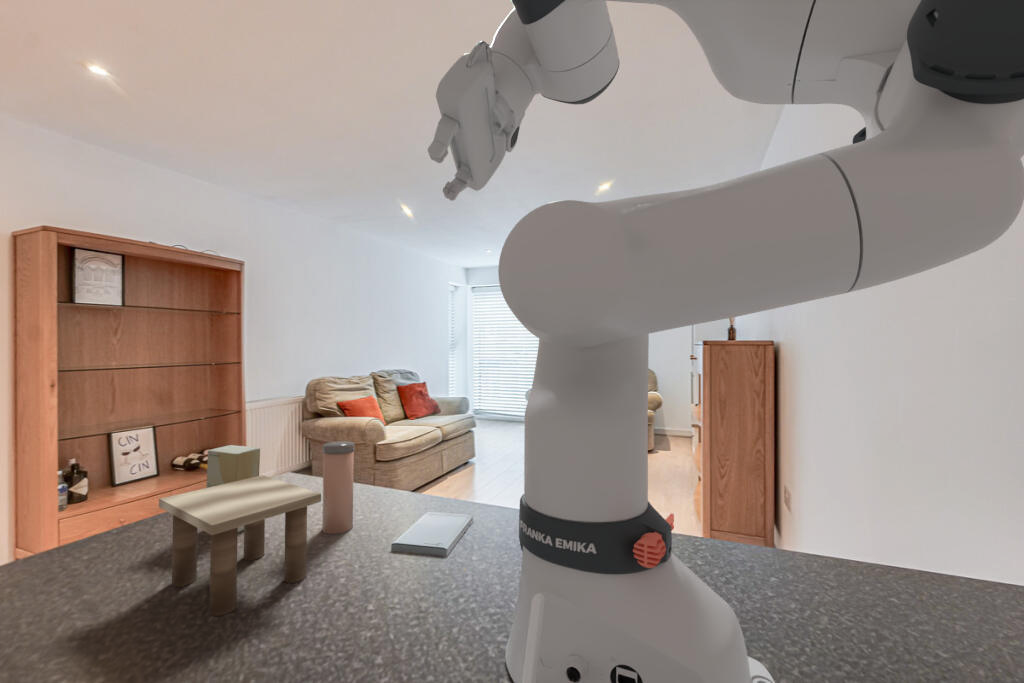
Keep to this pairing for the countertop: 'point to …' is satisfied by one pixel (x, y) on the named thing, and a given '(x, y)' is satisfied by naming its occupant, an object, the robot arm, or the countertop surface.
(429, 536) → the hard drive
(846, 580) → the countertop surface
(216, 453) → the skincare box
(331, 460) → the spice jar
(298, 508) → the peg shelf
